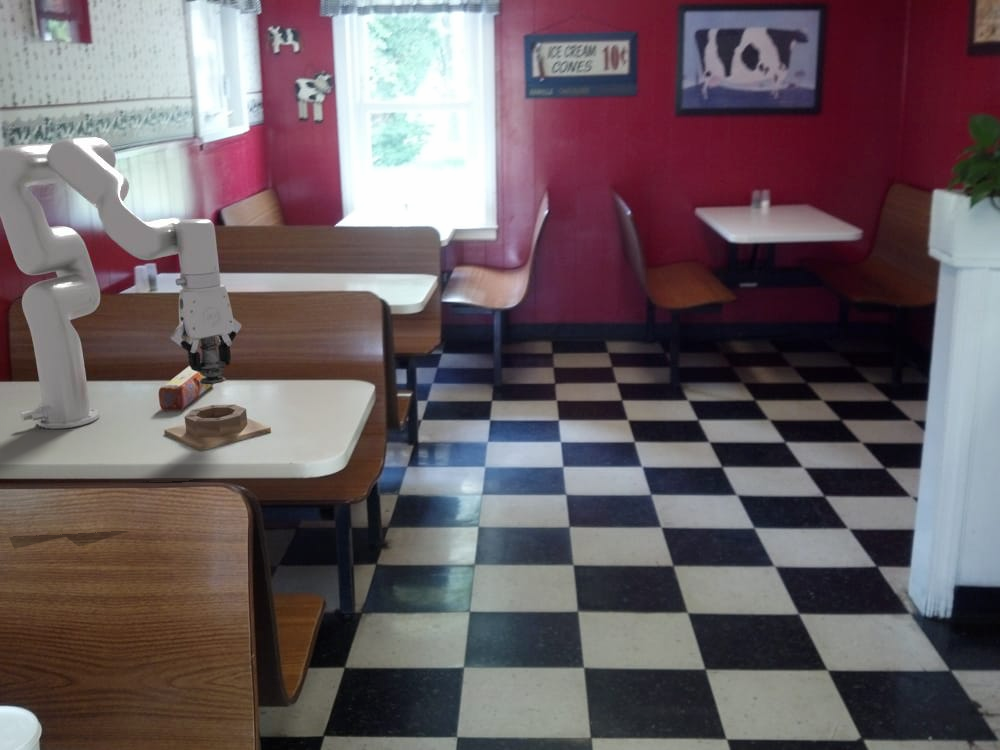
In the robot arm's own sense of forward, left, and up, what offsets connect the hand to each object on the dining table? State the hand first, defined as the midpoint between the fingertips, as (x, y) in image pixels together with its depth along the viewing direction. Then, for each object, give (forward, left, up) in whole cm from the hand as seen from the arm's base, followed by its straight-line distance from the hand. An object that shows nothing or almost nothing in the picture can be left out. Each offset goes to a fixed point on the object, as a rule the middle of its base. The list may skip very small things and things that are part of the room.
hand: (210, 366), depth 210 cm
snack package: (+9, +30, -15) cm, 35 cm away
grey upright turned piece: (0, 0, -3) cm, 3 cm away
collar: (0, 0, -15) cm, 15 cm away
